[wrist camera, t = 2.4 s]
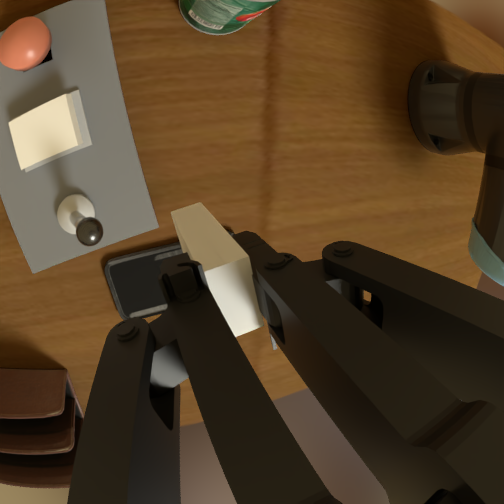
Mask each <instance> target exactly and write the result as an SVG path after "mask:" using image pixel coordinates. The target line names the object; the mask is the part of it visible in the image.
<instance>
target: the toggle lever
mask: <svg viewBox="0 0 504 504" xmlns="http://www.w3.org/2000/svg"><path fill="white" fill-rule="evenodd" d="M69 219H70V222H71V223H72V224H73V226H74V227H75V228H76V237H77V239H78V241H79V242H80V243H81V244H83V245H85V246H94V245H96V244H98V243H99V242H100V241H101V239H102V237H103V226H102V224H101V222H100V221H99V220H98V219H96V218H94V217H85V216H84V215H83V214H82V213H80V212H79V211H73V212H71V214H70V216H69Z"/></svg>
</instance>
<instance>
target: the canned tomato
mask: <svg viewBox="0 0 504 504" xmlns="http://www.w3.org/2000/svg"><path fill="white" fill-rule="evenodd" d="M278 1H280V0H179V9H180V12H181V15H182V16H183V18H184V20H185V21H186V22H187V23H188V24H189V25H190V26H192V27H193V28H194V29H196V30H198V31H200V32H203V33H206V34H212V35H225V34H230V33H233V32H235V31H238V30H239V29H241V28H242V27H244V26H245V25H246V24H247V23H249V22H250V21H251V20H252V19H254V18H255V17H257V16H258V15H260V14H261V13H262V12H264V11H265V10H267V9H268V8H269V7H271V6H272V5H274V4H276V3H277V2H278Z"/></svg>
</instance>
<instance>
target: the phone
mask: <svg viewBox="0 0 504 504" xmlns="http://www.w3.org/2000/svg"><path fill="white" fill-rule="evenodd" d="M227 232H228V233H229V234H230V236H232V235H235V234H234V233H233V232H231V231H227ZM182 253H183V251H182V247H181V244H180V242H176V243H172V244H168V245H164V246H160V247H156V248H152V249H148V250H144V251H140V252H136V253H132V254H128V255H124V256H120V257H116V258H112V259H110V260H108V261H107V263H106V265H105V275H106V278H107V281H108V284H109V287H110V290H111V292H112V295H113V298H114V301H115V304H116V306H117V309H118V312H119V314H120V316H121V318H122V319H123V320H127V319H130V318H141V319H142V318H146V317H150V316H154V315H158V314H162V313H164V312H165V310H166V309H167V302H166V300H165V298H164V295H163V293H162V290H161V287H160V285H159V282H158V275H159V274H160V273H161V271H160V266H161V264H162V262H163V260H165V259H168V258H171V257H174V256H177V255H179V254H182Z"/></svg>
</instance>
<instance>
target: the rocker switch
mask: <svg viewBox="0 0 504 504" xmlns="http://www.w3.org/2000/svg"><path fill="white" fill-rule="evenodd" d="M9 127H10V132H11V136H12V140H13V143H14V147H15V151H16V155H17V158H18V162H19V165H20V168H21V170H22V169H24V168H27V167H29V166H31V165H33V164H35V163H37V162H40V161H42V160H44V159H46V158H49V157H51V156H53V155H56V154H58V153H60V152H63V151H65V150H68V149H70V148H72V147H75V146H78V145H80V144H83V140H82V137H81V133H80V129H79V125H78V121H77V117H76V113H75V109H74V104H73V100H72V95H71V94H64V95H62V96H59V97H57V98H55V99H53V100H51V101H49V102H47V103H45V104H43V105H41V106H39V107H37V108H35V109H33V110H31V111H29V112H27V113H25V114H23V115H21V116H19V117H18V118H16V119H14V120H12V121H10V122H9Z"/></svg>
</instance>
